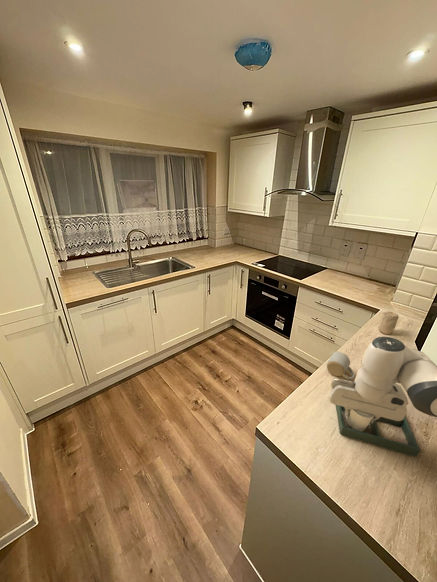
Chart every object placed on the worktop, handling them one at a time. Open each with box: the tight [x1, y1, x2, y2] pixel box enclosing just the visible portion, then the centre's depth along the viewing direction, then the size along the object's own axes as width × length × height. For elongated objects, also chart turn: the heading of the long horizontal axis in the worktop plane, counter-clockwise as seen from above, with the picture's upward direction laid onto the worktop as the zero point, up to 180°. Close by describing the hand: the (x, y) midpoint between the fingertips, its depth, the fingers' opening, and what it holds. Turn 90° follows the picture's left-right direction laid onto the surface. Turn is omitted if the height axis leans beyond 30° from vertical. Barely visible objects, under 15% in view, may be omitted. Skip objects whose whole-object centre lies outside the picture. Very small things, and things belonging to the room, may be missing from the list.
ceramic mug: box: [326, 351, 355, 381], centre depth 99 cm, size 11×8×8 cm
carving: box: [377, 311, 400, 335], centre depth 129 cm, size 6×8×12 cm
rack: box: [335, 405, 421, 458], centre depth 79 cm, size 20×20×5 cm
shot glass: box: [346, 409, 374, 432], centre depth 75 cm, size 7×7×7 cm
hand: (358, 418), depth 75 cm, fingers closed on shot glass, 5 cm apart
